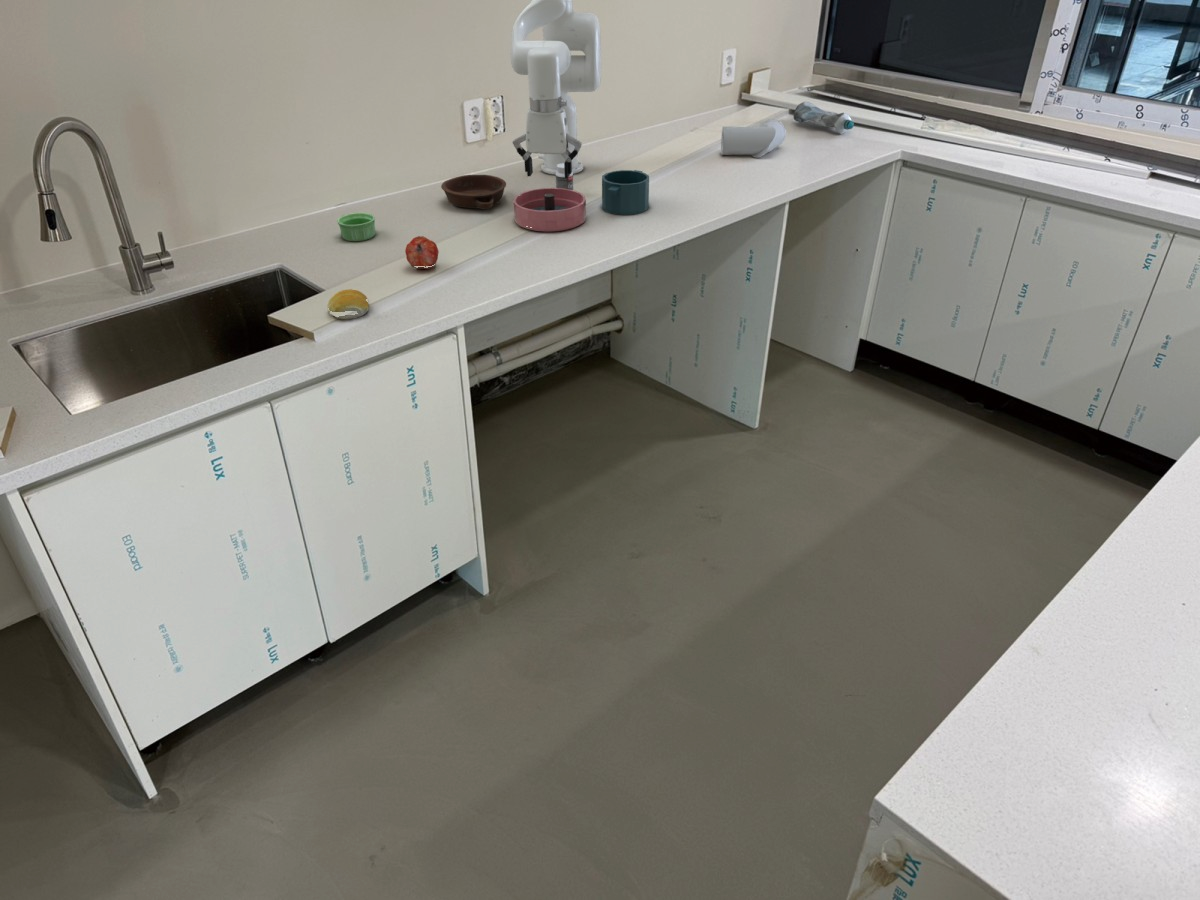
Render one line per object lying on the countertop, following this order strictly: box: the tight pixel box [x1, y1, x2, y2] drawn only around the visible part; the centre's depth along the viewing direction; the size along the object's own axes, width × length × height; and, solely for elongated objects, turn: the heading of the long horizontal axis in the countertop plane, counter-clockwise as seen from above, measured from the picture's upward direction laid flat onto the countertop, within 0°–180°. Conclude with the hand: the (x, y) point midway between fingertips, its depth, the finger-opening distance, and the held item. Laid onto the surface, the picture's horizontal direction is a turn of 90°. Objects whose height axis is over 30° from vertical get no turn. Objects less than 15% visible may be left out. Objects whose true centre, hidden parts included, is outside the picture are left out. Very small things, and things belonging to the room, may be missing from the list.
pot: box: [601, 169, 650, 216], centre depth 224 cm, size 12×18×8 cm
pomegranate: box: [404, 235, 440, 270], centre depth 191 cm, size 7×7×10 cm
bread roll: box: [327, 288, 370, 320], centre depth 173 cm, size 8×9×4 cm
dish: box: [440, 174, 507, 210], centre depth 229 cm, size 18×22×5 cm
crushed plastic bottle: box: [792, 101, 855, 135], centre depth 289 cm, size 13×7×25 cm
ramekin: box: [337, 212, 376, 242], centre depth 209 cm, size 9×9×4 cm
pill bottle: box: [555, 163, 574, 190], centre depth 232 cm, size 5×5×8 cm
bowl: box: [513, 187, 587, 233], centre depth 216 cm, size 18×18×6 cm
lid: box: [532, 194, 568, 211], centre depth 216 cm, size 13×13×6 cm
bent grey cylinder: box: [720, 119, 787, 159], centre depth 265 cm, size 18×11×20 cm
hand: (548, 175), depth 212 cm, fingers open, 9 cm apart
